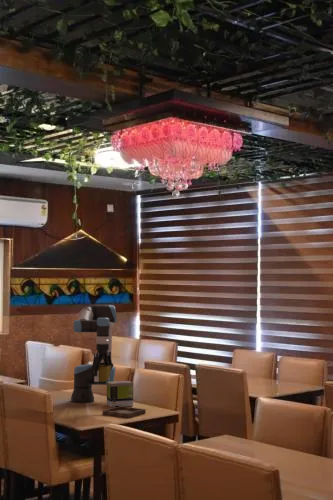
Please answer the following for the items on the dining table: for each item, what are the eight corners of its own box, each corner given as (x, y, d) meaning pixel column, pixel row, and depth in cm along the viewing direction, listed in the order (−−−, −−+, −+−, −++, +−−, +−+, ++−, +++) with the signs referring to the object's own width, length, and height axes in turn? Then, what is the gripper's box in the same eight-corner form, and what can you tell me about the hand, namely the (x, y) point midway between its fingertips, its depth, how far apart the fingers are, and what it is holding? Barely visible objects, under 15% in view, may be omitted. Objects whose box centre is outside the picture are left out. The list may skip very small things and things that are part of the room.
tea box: (129, 403, 426) (129, 380, 427) (133, 406, 417) (133, 382, 418) (106, 404, 422) (106, 381, 422) (109, 407, 412) (110, 383, 413)
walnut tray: (102, 414, 388) (102, 410, 388) (120, 410, 403) (120, 406, 403) (127, 418, 378) (128, 413, 378) (145, 413, 393) (145, 409, 394)
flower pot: (106, 382, 396) (107, 367, 397) (92, 381, 398) (92, 366, 399) (111, 380, 405) (111, 365, 405) (97, 380, 407) (97, 365, 407)
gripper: (95, 344, 391) (95, 383, 390) (118, 342, 410) (118, 379, 409) (85, 344, 395) (85, 382, 394) (109, 342, 414) (108, 378, 413)
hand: (101, 380), depth 401 cm, fingers closed on flower pot, 10 cm apart
